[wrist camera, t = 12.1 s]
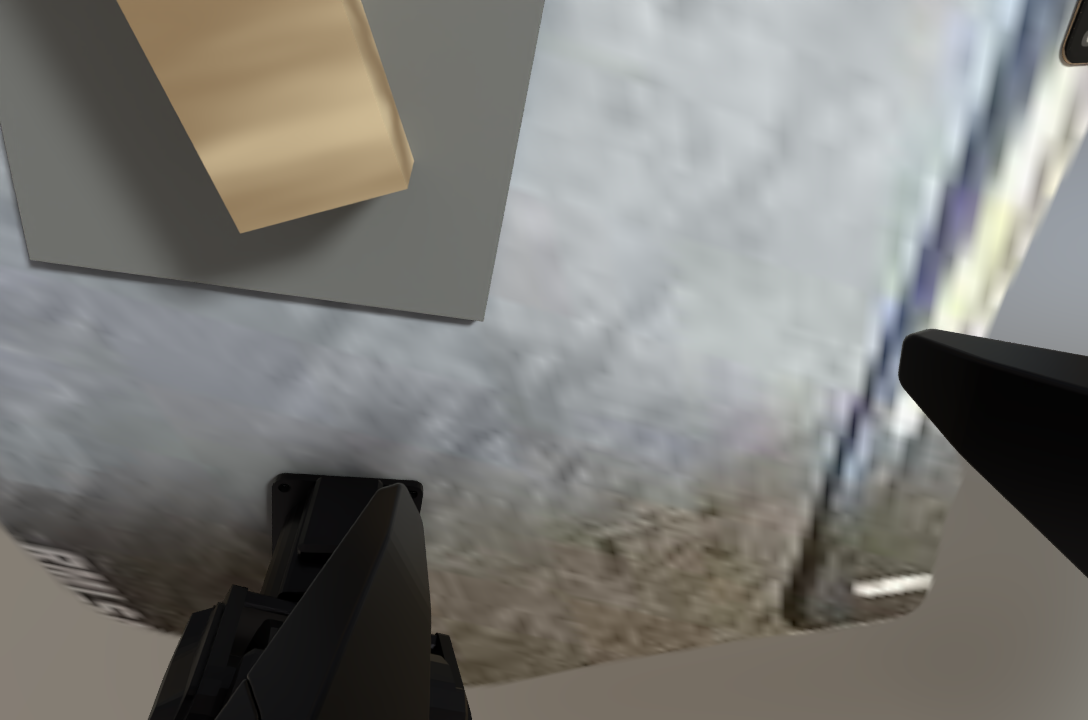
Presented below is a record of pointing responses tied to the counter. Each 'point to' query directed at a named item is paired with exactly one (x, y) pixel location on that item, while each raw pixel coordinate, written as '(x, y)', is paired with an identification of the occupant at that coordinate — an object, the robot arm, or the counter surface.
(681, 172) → the counter surface
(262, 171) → the block
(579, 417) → the counter surface
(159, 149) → the mat
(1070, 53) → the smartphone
